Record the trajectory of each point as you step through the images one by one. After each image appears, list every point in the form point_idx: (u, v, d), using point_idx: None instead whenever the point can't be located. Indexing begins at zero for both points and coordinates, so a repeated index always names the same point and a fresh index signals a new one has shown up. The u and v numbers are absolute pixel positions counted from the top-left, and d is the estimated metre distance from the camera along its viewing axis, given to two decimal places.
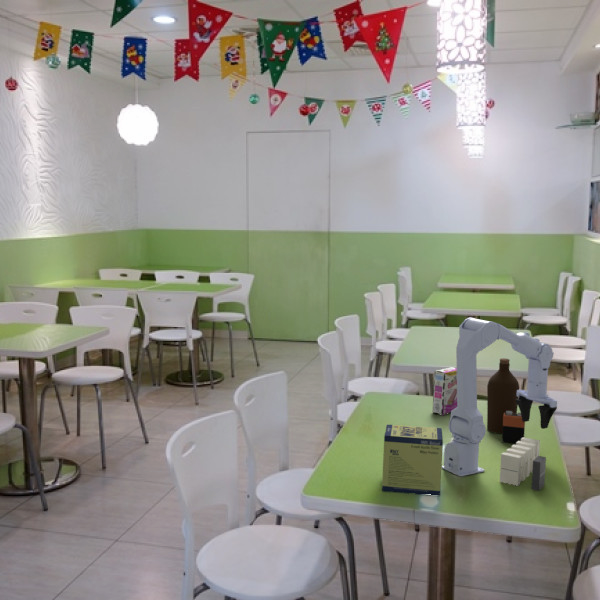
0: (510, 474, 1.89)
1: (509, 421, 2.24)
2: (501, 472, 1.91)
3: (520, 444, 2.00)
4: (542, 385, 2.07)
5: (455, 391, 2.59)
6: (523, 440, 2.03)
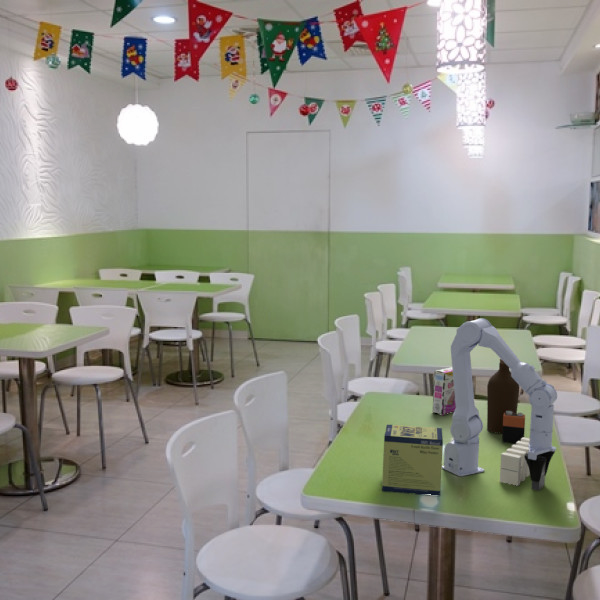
0: (510, 474, 1.89)
1: (509, 421, 2.24)
2: (501, 472, 1.91)
3: (520, 444, 2.00)
4: (535, 433, 1.84)
5: None
6: (523, 440, 2.03)
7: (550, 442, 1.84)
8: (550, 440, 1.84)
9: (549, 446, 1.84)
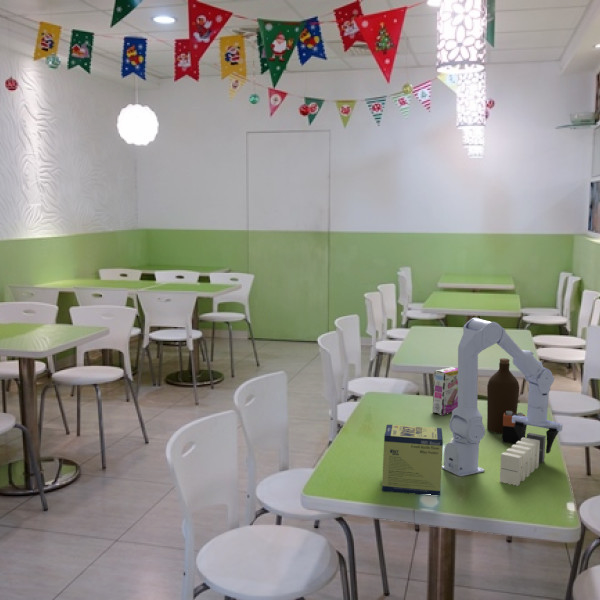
0: (510, 474, 1.89)
1: (509, 421, 2.24)
2: (501, 472, 1.91)
3: (520, 444, 2.00)
4: (546, 410, 2.05)
5: (455, 391, 2.59)
6: (523, 440, 2.03)
7: None
8: None
9: None
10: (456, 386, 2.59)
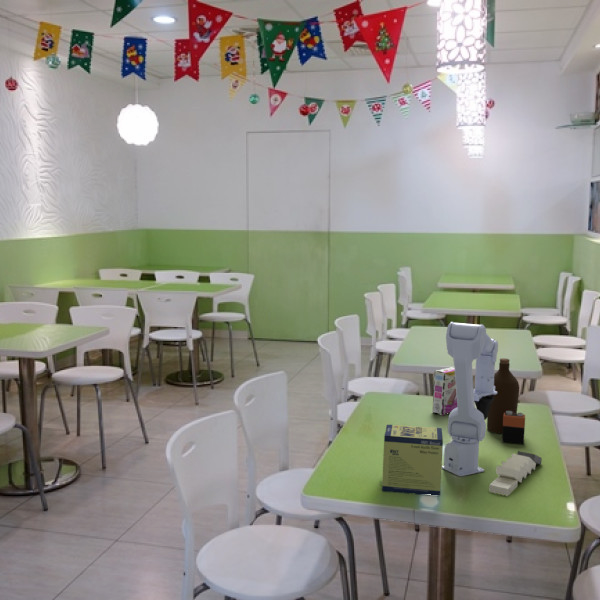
0: None
1: (509, 421, 2.24)
2: None
3: None
4: (479, 379, 2.12)
5: (455, 391, 2.59)
6: None
7: (492, 387, 2.12)
8: (492, 385, 2.12)
9: (491, 390, 2.12)
10: None
